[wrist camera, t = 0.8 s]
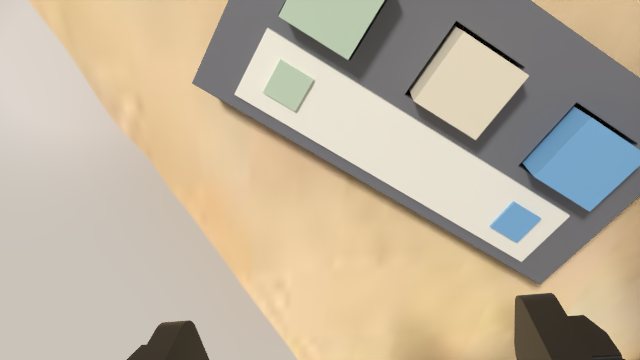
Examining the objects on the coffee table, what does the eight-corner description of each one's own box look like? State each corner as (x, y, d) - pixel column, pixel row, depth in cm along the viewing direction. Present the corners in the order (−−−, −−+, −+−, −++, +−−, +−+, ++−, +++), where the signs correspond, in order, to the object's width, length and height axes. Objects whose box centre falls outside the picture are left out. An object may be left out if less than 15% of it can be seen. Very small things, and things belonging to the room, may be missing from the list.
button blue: (567, 101, 30) (591, 117, 26) (619, 137, 30) (649, 156, 27) (517, 156, 32) (534, 176, 29) (567, 188, 32) (589, 211, 29)
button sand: (452, 24, 28) (463, 31, 25) (511, 64, 29) (529, 75, 26) (408, 88, 30) (413, 101, 27) (464, 123, 31) (475, 140, 28)
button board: (306, -149, 26) (299, -166, 23) (682, 116, 31) (719, 133, 28) (205, 74, 32) (189, 85, 29) (527, 262, 37) (542, 288, 34)
